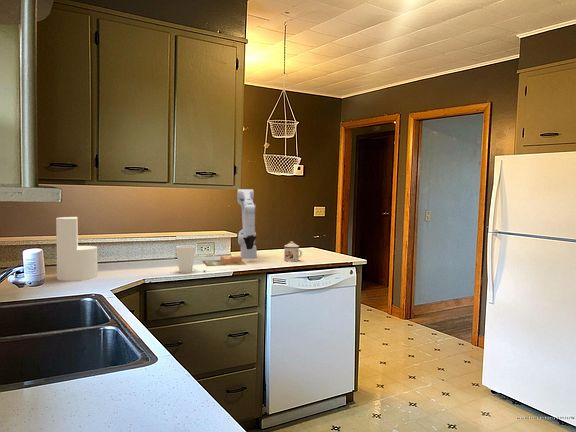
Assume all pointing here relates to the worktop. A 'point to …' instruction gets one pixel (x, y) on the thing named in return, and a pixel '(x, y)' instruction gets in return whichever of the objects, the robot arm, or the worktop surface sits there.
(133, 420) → the worktop surface
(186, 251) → the foam cup
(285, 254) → the teacup with lid
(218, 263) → the board
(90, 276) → the cream l-shaped block
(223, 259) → the t block
